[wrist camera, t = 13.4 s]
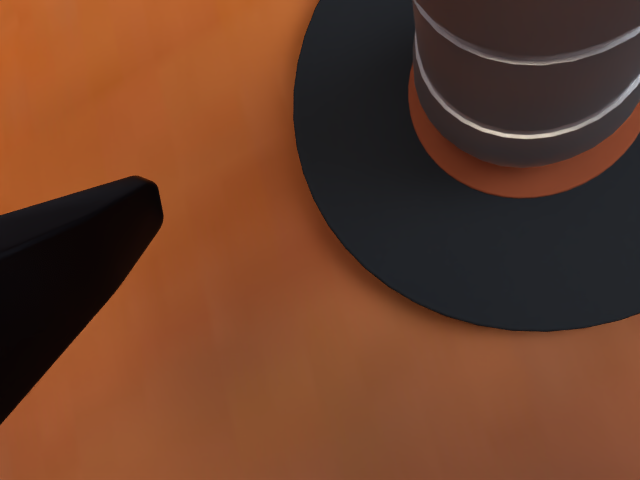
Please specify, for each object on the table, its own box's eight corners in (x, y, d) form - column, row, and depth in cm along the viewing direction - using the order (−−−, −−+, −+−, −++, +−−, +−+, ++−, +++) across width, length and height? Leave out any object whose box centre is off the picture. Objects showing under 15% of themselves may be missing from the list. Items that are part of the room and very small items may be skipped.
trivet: (554, 434, 19) (557, 441, 18) (220, 135, 23) (209, 130, 22) (950, 27, 16) (976, 14, 16) (494, -218, 21) (494, -239, 20)
